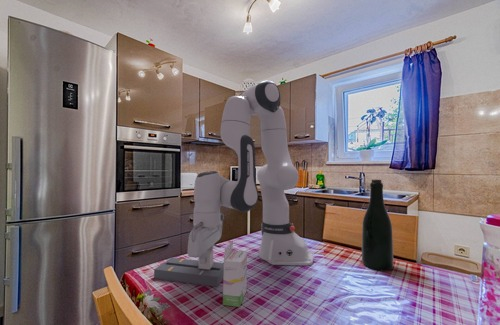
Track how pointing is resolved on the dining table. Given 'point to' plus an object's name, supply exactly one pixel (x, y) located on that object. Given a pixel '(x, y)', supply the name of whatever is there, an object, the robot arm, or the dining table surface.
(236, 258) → the ink box
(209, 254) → the fader cap
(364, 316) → the dining table surface
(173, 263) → the slider console
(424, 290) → the dining table surface
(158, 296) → the dining table surface
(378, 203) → the beer bottle
